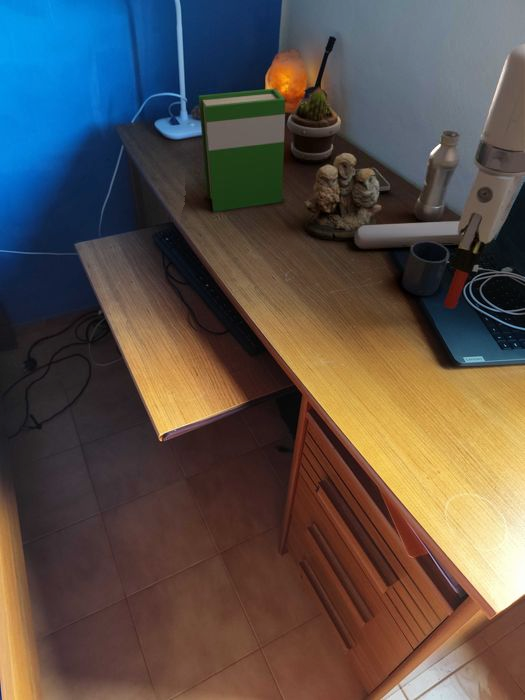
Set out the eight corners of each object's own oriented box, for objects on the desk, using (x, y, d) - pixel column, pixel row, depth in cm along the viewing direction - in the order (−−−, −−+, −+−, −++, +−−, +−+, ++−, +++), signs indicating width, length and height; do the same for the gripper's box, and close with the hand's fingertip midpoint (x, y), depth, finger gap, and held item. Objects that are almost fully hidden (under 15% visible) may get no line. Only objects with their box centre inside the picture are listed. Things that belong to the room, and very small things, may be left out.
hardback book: (213, 211, 114) (205, 107, 97) (207, 197, 119) (198, 95, 102) (281, 201, 118) (285, 99, 100) (273, 188, 123) (275, 88, 105)
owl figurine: (308, 245, 104) (315, 171, 92) (296, 218, 112) (300, 147, 100) (384, 237, 107) (400, 164, 94) (366, 211, 115) (379, 140, 102)
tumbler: (443, 282, 95) (455, 249, 89) (429, 300, 91) (440, 267, 85) (410, 269, 98) (419, 236, 92) (395, 286, 94) (404, 253, 88)
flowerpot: (285, 145, 141) (288, 71, 127) (335, 146, 141) (344, 72, 127) (284, 166, 131) (288, 89, 117) (339, 167, 131) (349, 90, 117)
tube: (358, 239, 99) (473, 234, 100) (354, 220, 101) (466, 215, 102) (353, 255, 104) (463, 249, 105) (350, 235, 106) (457, 231, 107)
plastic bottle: (422, 208, 116) (446, 125, 101) (445, 220, 112) (473, 135, 97) (406, 217, 113) (428, 132, 98) (429, 229, 109) (455, 143, 95)
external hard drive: (373, 174, 128) (374, 167, 127) (389, 193, 121) (391, 186, 119) (349, 177, 127) (350, 170, 126) (364, 196, 120) (365, 189, 118)
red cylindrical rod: (457, 303, 82) (483, 235, 72) (453, 310, 81) (479, 241, 71) (446, 299, 83) (471, 231, 73) (442, 305, 82) (466, 237, 72)
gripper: (517, 184, 57) (470, 300, 70) (550, 140, 65) (502, 250, 79) (457, 168, 60) (423, 282, 73) (496, 128, 68) (459, 236, 82)
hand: (464, 265), depth 76 cm, fingers closed on red cylindrical rod, 2 cm apart
